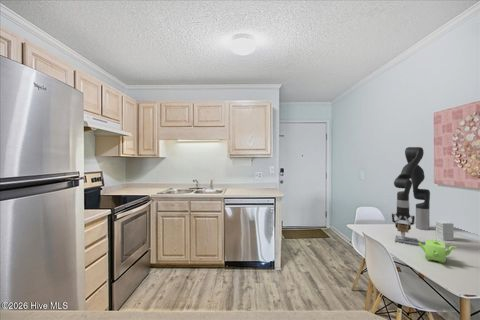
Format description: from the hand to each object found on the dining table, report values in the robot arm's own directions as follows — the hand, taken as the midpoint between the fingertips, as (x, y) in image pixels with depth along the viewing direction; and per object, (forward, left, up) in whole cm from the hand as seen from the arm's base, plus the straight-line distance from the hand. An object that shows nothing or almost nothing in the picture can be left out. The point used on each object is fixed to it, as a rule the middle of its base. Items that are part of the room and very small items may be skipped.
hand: (402, 229), depth 171 cm
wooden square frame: (0, 0, -1) cm, 1 cm away
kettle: (+25, +17, -9) cm, 32 cm away
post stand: (-1, +2, -9) cm, 9 cm away
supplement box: (-22, +25, -9) cm, 35 cm away
